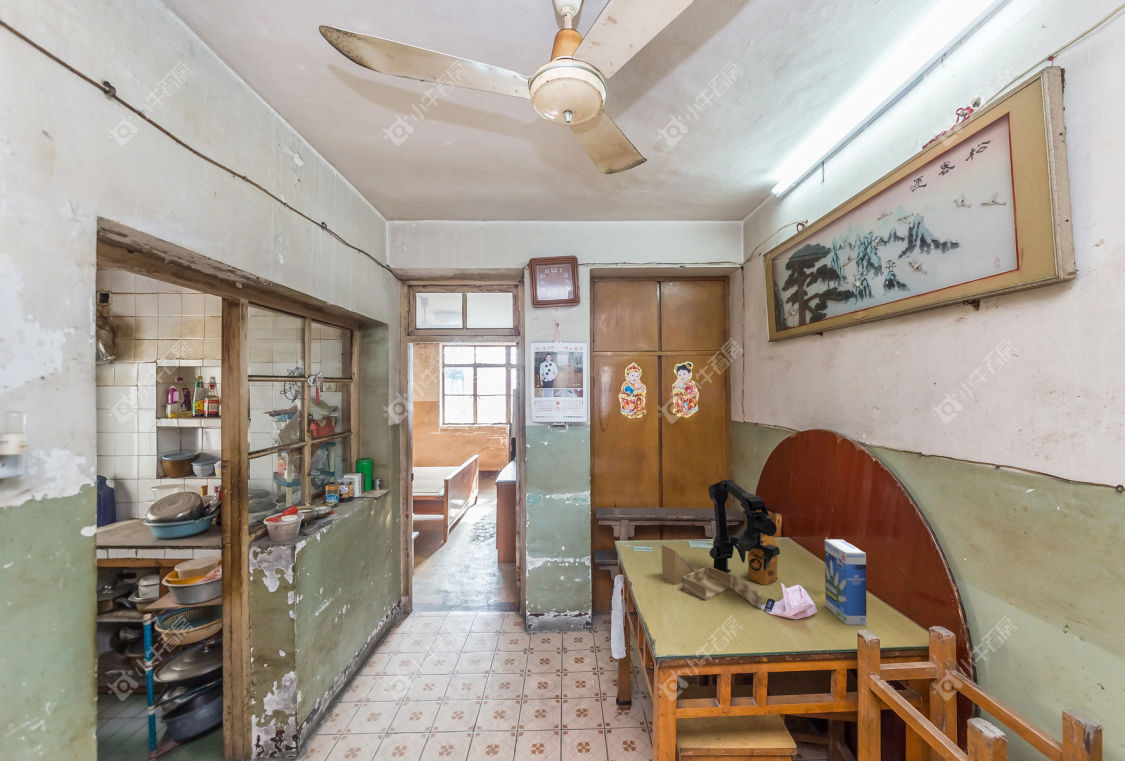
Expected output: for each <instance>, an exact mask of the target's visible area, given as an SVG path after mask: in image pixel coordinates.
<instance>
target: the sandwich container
mask: <svg viewBox="0 0 1125 761" xmlns="http://www.w3.org/2000/svg"><path fill="white" fill-rule="evenodd" d="M661 570H662V574H661V575H662V579H664V580H665V581H668V582H669V583H671V584H673V585H675V586H677V585H680V584H682V577H683V576H686V575H688V574H690V573H693V572H695V571H696V570H694V569H693V568H692V567H691V565H689V564H688V563H687V561H686V560H684V558H683V557H682V556H681V555H680V554H679V553H678V552H677V551H676V550H675V549H673V548H672V547H669V546H667V545H664V544H661Z"/></svg>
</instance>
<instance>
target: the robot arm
mask: <svg viewBox="0 0 1125 761" xmlns="http://www.w3.org/2000/svg"><path fill="white" fill-rule="evenodd" d="M707 491H708V493H709V494H708V495H709V498H710V500H711V502H712V503H713V508H714V521H715V522H714V524H715V532H716V534H715V535H716V536H714V540H713V542H712V547H711V549H710V550H709V551H708V552H709V557H711V558H712V559H713V568H715V569H718V570H720V571H723V572H725V573H728V574H729V573H730V572H732V570H731V569H730V568H729V559H733V555H734V551H735V550H734V549H736V550H737V552H738V554H739V557H740V560H741V563H742V564H744V563H745V562H746V554H747V552H749V551H751V549H756V548H757V549H760V550H763V553H764V554H763V555H762V556H763V558H764V570H766V569H767V567H768V565H769V563H770V561H771V559H772V558H773V557H775V556H777V557H778V556H779V555H780V554H781V549H780V547H779V546H777V545H776V546H774V545H770V544H769V545H767V546H764V545H761V544H762V543H763V540H761V534H762V533H763V534H765V535H767V536H773V537H774V536H775V534H776V533H777V529H778V527H777V525H776V523H775V522H773V521H772V517H769V516H770V514H769V510H768V508H767V507H766V504H765V503H764V500H763V498H761V497H760V496H758V495H756V494H754V493H751V492H750V493H749V492H747V491H746V490H744V488H743V487H740V486H739V485H738V484H737V483H735V482H734V480H733V479H722V480H721V481H719V482H716V483H714V484H710V486H709V487H708V489H707ZM729 494H730V495H732V496H733V497H734V498H736V500H738V501H739V502H740V506H741V507H742V508H743V510H744V511H742V514H743V515H745V529H744V530H743V535H739V534H733V535H731V536H730V537H729V536H728V535H729V534H728V523H727V508H726V503H727V502H728V499H729Z"/></svg>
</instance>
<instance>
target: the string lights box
mask: <svg viewBox="0 0 1125 761" xmlns="http://www.w3.org/2000/svg"><path fill="white" fill-rule="evenodd" d="M824 570H825V571H824V576H825V578H824V579H825V581H824V582H825V584H824V585H825V587H824V588H825V607H827V609H828V610H830V611H831V612H832V614H834V615H835V616H836V617H837V618H839V619H840V620H841V621H842V622H843V623H844V624H845V625H849V626H851V625H852V626H867V622H868V621H867V553H866V552H864V551H863V550H861V549H859V548H858V547H856V546H855V545H853V544H851V543H849V542H847V541H846V540H844V539H829V538H828V539H827V538H826V539H824Z"/></svg>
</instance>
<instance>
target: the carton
mask: <svg viewBox="0 0 1125 761" xmlns="http://www.w3.org/2000/svg"><path fill="white" fill-rule="evenodd" d="M694 571H695V572H693V573H690V574H688V575H686V576H683V577H682V583H681V584H682V590H683V592H686V593H688V594H691V595H693V596H695V597H696V598H700V599H702V600H703V601H707V600H709V599H711V598H713V597H715V596H718V595H719V594H721V593H723V592H725V591H728V590H729V589H732V574H730V573H729V572H728V573H725V572H723V571H720V570H718V569H715V568H714V567H712V566H709V565H707V566H704V567H702V568H700V569H698V570H694Z"/></svg>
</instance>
